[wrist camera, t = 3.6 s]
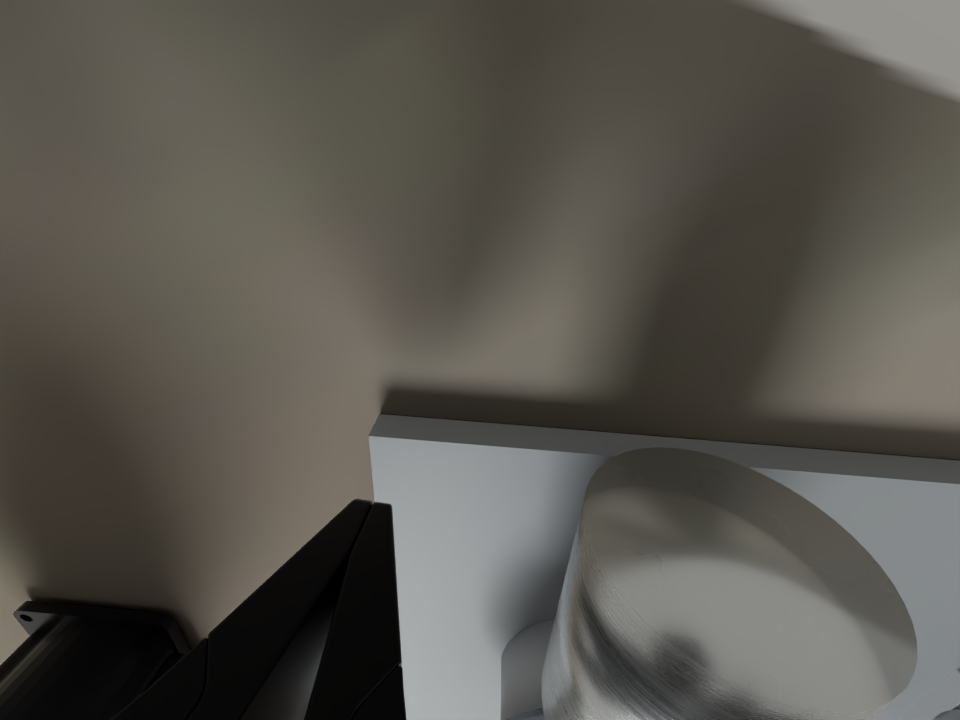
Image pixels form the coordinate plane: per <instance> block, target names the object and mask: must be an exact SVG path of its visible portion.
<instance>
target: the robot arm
mask: <svg viewBox="0 0 960 720" xmlns="http://www.w3.org/2000/svg"><path fill="white" fill-rule="evenodd" d="M13 615H14V617H15V618H16V619H17V620H18V622H19V623H20V624H21V625H22V627H23V628H24V629H25V630H26V631H27V633H28V634H29V635H30V637H29V638H28V639H27V640H26V641H25V642H24V643H23V644H22V645H21V646H20V647H19V648H18V649H17V650H16V651H15V652H14V653H13V654H12V655H11V656H10V657H9V658H8V659H6V660H5V661H4V662H3V663H2V664H1V665H0V720H407V719H406V708H405V698H404V685H403V669H402V666H401V665H402V656H401V640H400V624H399V608H398V592H397V576H396V559H395V543H394V527H393V511H392V505H391V504H389V503H382V502H374V503H373V502H372V501H368V500H362V499H355V500H353V501H352V502H351V503H349V504H348V505H347V506H346V507H345V508H344V509H343V510H342V511H341V512H340V513H339V514H338V515H337V516H335V517H334V518H333V519H332V520H331V521H330V522H329V523H328V524H327V525H326V526H325V527H324V528H322V529H321V530H320V531H319V532H318V533H317V534H316V535H315V536H314V537H313V538H312V539H311V540H310V541H308V542H307V543H306V544H305V545H304V546H303V547H302V548H301V549H300V550H299V551H298V552H297V553H295V554H294V555H293V556H292V557H291V558H290V559H289V560H288V561H287V562H286V563H285V564H284V565H283V566H281V567H280V568H279V569H278V570H277V571H276V572H275V573H274V574H273V575H272V576H271V577H270V578H268V579H267V580H266V581H265V582H264V583H263V584H262V585H261V586H260V587H259V588H258V589H257V590H256V591H254V592H253V593H252V594H251V595H250V596H249V597H248V598H247V599H246V600H245V601H244V602H243V603H241V604H240V605H239V606H238V607H237V608H236V609H235V610H234V611H233V612H232V613H231V614H230V615H229V616H227V617H226V618H225V619H224V620H223V621H222V622H221V623H220V624H219V625H218V626H217V627H216V628H214V629H213V630H212V631H211V632H210V633H209V634H208V638H203V639H202V640H201V641H200V642H199V643H198V644H197V645H196V646H195V647H194V648H193V649H192V650H190V649H189V647H188V645H187V643H186V641H185V639H184V637H183V635H182V633H181V631H180V629H179V627H178V625H177V624H176V622H175V620H174V619H173V618H171V617H170V616H168V615H165V614H161V613H151V612H141V611H130V610H120V609H109V608H99V607H88V606H78V605H67V604H57V603H46V602H36V601H26V602H25V603H23V604H22V605H21V606H20V607H19V608H18V609H17V610H16V611H15V612H14V614H13Z"/></svg>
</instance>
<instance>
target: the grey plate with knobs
mask: <svg viewBox="0 0 960 720" xmlns="http://www.w3.org/2000/svg"><path fill="white" fill-rule="evenodd" d="M369 446H370V457H371V468H372V479H373V490H374V500H375V502H382V503H389V504H391V505H392V511H393V527H394V543H395V559H396V576H397V592H398V608H399V624H400V640H401V656H402V665H401V666H402V669H403V685H404V698H405V708H406V719H407V720H506V719H508V718H511V717H513V716H516V715H518V714H521V713H524V712H527V711H531V710H534V709H537V708H542V707H543V704H542V673H543V666H544V662H545V657H546V653H547V649H548V645H549V641H550V637H551V633H552V629H553V624H554V620H555V616H556V612H557V608H558V604H559V600H560V596H561V591H562V587H563V583H564V579H565V575H566V571H567V567H568V563H569V559H570V554H571V550H572V546H573V542H574V538H575V534H576V530H577V526H578V521H579V517H580V513H581V509H582V505H583V501H584V497H585V493H586V488H587V486H588V484H589V481H590V479H591V477H592V476H593V475H594V473H595V472H596V470H597V469H598V468H599V467H600V466H602V465H603V464H604V463H605V462H606V461H608V460H610V459H611V458H613V457H615V456H617V455H619V454H622V453H624V452H628V451H631V450H636V449H642V448H654V447H666V448H678V449H687V450H692V451H697V452H702V453H706V454H710V455H713V456H717V457H720V458H723V459H726V460H729V461H732V462H735V463H737V464H740V465H743V466H745V467H748V468H750V469H752V470H754V471H756V472H759V473H761V474H763V475H765V476H767V477H769V478H771V479H773V480H775V481H777V482H778V483H780V484H782V485H784V486H786V487H787V488H789V489H791V490H792V491H794V492H796V493H797V494H799V495H801V496H802V497H804V498H805V499H806V500H808V501H809V502H811V503H812V504H814V505H815V506H817V507H818V508H819V509H821V510H822V511H823V512H825V513H826V514H827V515H828V516H830V517H831V518H832V519H834V520H835V521H836V522H837V523H838V524H840V525H841V526H842V527H843V528H844V529H845V530H846V531H848V532H849V533H850V534H851V535H852V536H853V537H854V538H855V539H856V540H857V541H858V542H859V543H860V544H861V545H862V546H863V547H864V548H865V549H866V550H867V551H868V552H869V553H870V555H871V556H872V557H873V558H874V559H875V560H876V562H877V563H878V564H879V565H880V566H881V568H882V569H883V570H884V572H885V573H886V574H887V576H888V577H889V579H890V580H891V581H892V583H893V584H894V586H895V587H896V589H897V591H898V593H899V594H900V596H901V598H902V600H903V601H904V603H905V605H906V608H907V610H908V613H909V615H910V617H911V620H912V622H913V626H914V631H915V635H916V639H917V656H918V659H917V663H916V668H915V672H914V675H913V677H912V679H911V680H910V682H909V684H908V686H907V687H906V689H905V690H904V691H903V692H902V693H901V694H900V695H898V696H897V697H896V698H895V699H894V700H893V701H892V702H891V703H890V704H889V705H888V706H886V707H885V708H884V709H883V710H882V711H881V712H880V713H879V714H878V715H877V716H876V717H875V718H873V719H872V720H960V461H957V460H945V459H932V458H920V457H908V456H895V455H883V454H870V453H858V452H845V451H833V450H820V449H808V448H795V447H783V446H770V445H758V444H746V443H733V442H721V441H708V440H696V439H683V438H671V437H658V436H646V435H633V434H621V433H609V432H596V431H584V430H571V429H559V428H546V427H534V426H521V425H509V424H496V423H484V422H471V421H459V420H447V419H434V418H422V417H409V416H397V415H384V414H379V416H378V418H377V420H376V422H375V424H374V426H373V428H372V430H371V432H370V434H369Z"/></svg>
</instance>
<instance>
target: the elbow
mask: <svg viewBox="0 0 960 720" xmlns="http://www.w3.org/2000/svg"><path fill="white" fill-rule="evenodd" d="M917 659H918V656H917V639H916V635H915V631H914V626H913V622H912V620H911V617H910V615H909V613H908V610H907V608H906V605H905V603H904V601H903V600H902V598H901V596H900V594H899V593H898V591H897V589H896V587H895V586H894V584H893V583H892V581H891V580H890V579H889V577H888V576H887V574H886V573H885V572H884V570H883V569H882V568H881V566H880V565H879V564H878V563H877V562H876V560H875V559H874V558H873V557H872V556H871V555H870V553H869V552H868V551H867V550H866V549H865V548H864V547H863V546H862V545H861V544H860V543H859V542H858V541H857V540H856V539H855V538H854V537H853V536H852V535H851V534H850V533H849V532H848V531H846V530H845V529H844V528H843V527H842V526H841V525H840V524H838V523H837V522H836V521H835V520H834V519H832V518H831V517H830V516H828V515H827V514H826V513H825V512H823V511H822V510H821V509H819V508H818V507H817V506H815V505H814V504H812V503H811V502H809V501H808V500H806V499H805V498H804V497H802V496H801V495H799V494H797V493H796V492H794V491H792V490H791V489H789V488H787V487H786V486H784V485H782V484H780V483H778V482H777V481H775V480H773V479H771V478H769V477H767V476H765V475H763V474H761V473H759V472H756V471H754V470H752V469H750V468H748V467H745V466H743V465H740V464H737V463H735V462H732V461H729V460H726V459H723V458H720V457H717V456H713V455H710V454H706V453H702V452H697V451H692V450H687V449H678V448H666V447H654V448H642V449H636V450H631V451H628V452H624V453H622V454H619V455H617V456H615V457H613V458H611V459H610V460H608V461H606V462H605V463H604V464H603V465H602V466H600V467H599V468H598V469H597V470H596V472H595V473H594V475H593V476H592V477H591V479H590V481H589V484H588V486H587V488H586V493H585V497H584V501H583V505H582V509H581V513H580V517H579V521H578V526H577V530H576V534H575V538H574V542H573V546H572V550H571V554H570V559H569V563H568V567H567V571H566V575H565V579H564V583H563V587H562V591H561V596H560V600H559V604H558V608H557V612H556V616H555V620H554V624H553V629H552V633H551V637H550V641H549V645H548V649H547V653H546V657H545V662H544V666H543V673H542V704H543V707H542V708H537V709H534V710H531V711H527V712H524V713H521V714H518V715H516V716H513V717H511V718H508V719H506V720H872V719H873V718H875V717H876V716H877V715H878V714H879V713H880V712H881V711H882V710H883V709H884V708H885V707H886V706H888V705H889V704H890V703H891V702H892V701H893V700H894V699H895V698H896V697H897V696H898V695H900V694H901V693H902V692H903V691H904V690H905V689H906V687H907V686H908V684H909V682H910V680H911V679H912V677H913V675H914V672H915V668H916V663H917Z"/></svg>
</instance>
